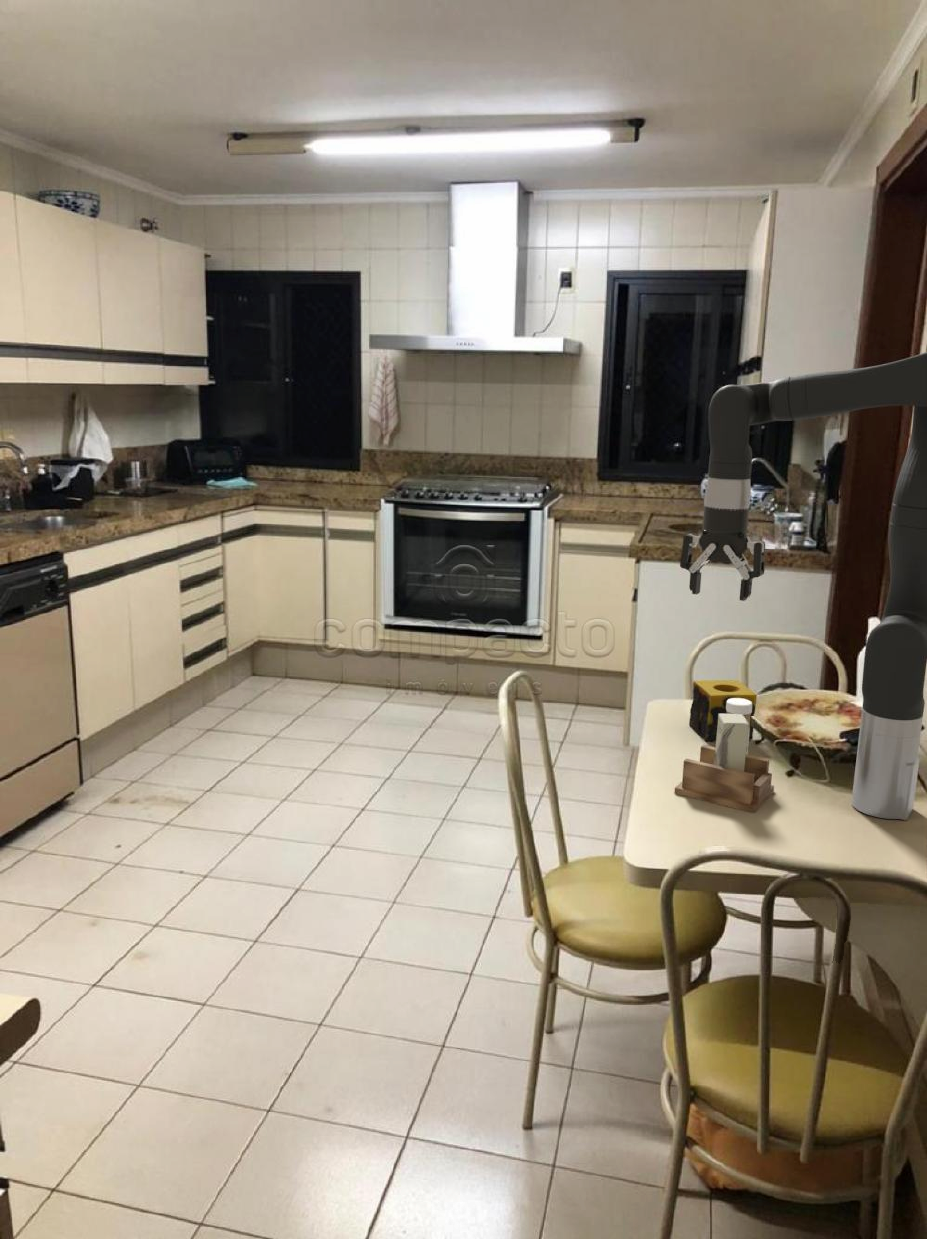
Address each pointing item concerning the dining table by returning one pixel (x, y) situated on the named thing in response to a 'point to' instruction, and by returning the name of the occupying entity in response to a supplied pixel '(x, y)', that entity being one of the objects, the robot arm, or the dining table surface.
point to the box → (731, 741)
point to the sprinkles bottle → (740, 711)
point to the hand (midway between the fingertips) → (719, 596)
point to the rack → (726, 781)
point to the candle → (716, 704)
